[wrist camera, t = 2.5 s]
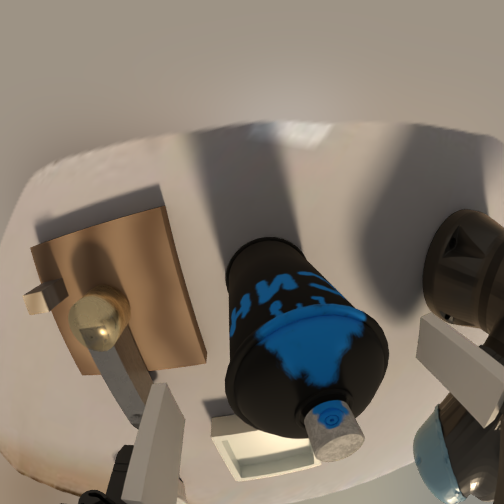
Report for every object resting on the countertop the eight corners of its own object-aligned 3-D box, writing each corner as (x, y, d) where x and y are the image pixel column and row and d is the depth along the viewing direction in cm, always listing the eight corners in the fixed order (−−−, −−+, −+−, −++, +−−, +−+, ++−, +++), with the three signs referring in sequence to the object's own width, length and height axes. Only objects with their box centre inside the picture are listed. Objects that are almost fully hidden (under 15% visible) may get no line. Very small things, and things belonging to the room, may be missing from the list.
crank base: (165, 205, 25) (146, 211, 19) (207, 352, 29) (203, 389, 23) (40, 243, 24) (6, 257, 18) (88, 366, 28) (68, 395, 22)
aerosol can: (315, 302, 28) (419, 452, 9) (239, 325, 28) (258, 508, 9) (299, 226, 26) (448, 321, 7) (215, 250, 26) (186, 410, 7)
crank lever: (79, 289, 23) (60, 304, 20) (120, 280, 24) (104, 296, 20) (136, 409, 27) (129, 431, 23) (174, 406, 27) (169, 431, 24)
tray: (310, 398, 31) (317, 416, 28) (315, 449, 35) (321, 464, 31) (211, 417, 31) (210, 437, 28) (235, 465, 34) (236, 481, 31)
